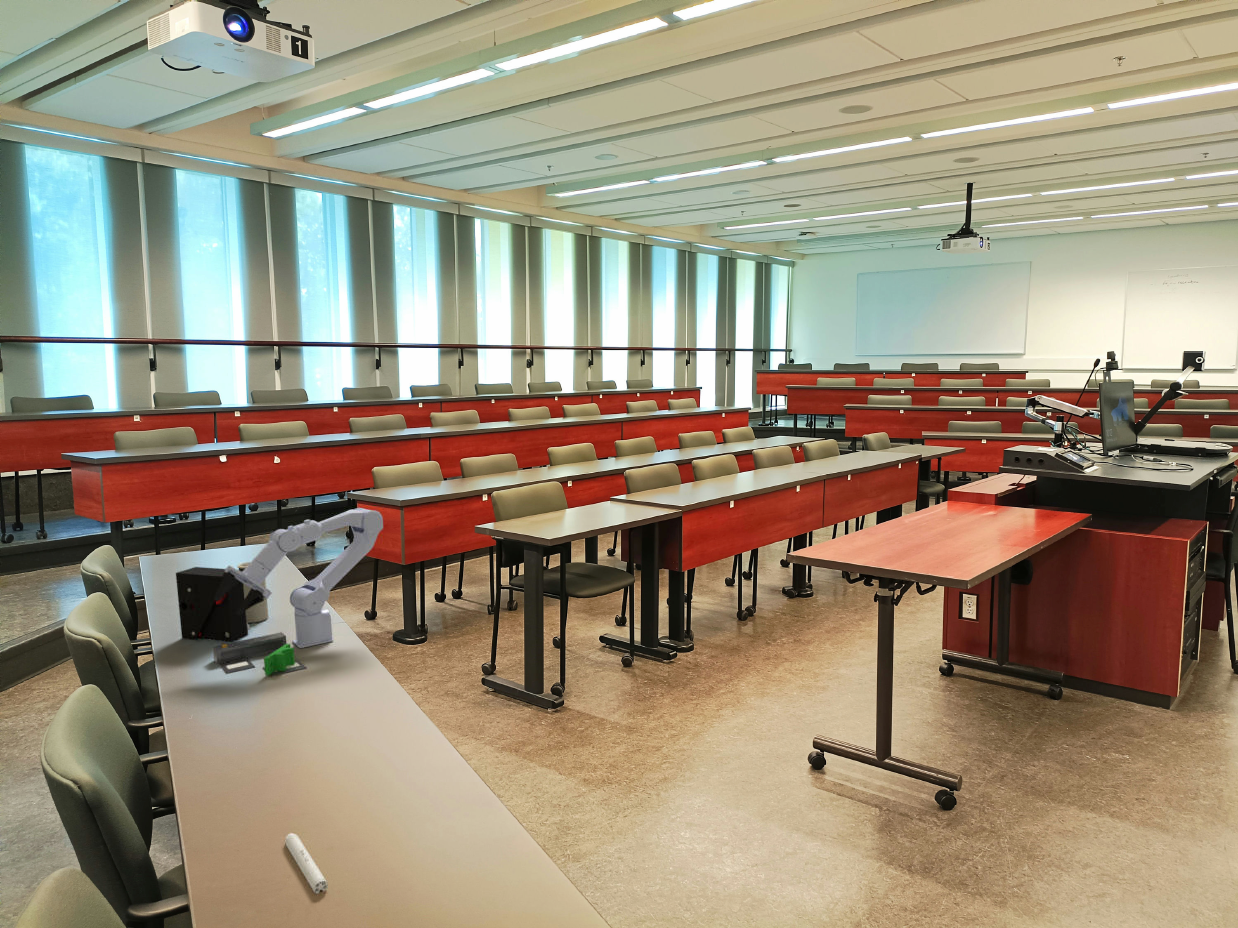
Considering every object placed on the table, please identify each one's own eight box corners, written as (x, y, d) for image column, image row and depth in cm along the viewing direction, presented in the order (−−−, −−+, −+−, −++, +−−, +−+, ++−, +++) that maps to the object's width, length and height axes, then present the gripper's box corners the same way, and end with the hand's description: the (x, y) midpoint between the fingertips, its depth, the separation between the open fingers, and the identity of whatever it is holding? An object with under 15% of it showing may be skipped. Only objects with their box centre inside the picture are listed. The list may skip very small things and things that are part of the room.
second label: (297, 659, 225) (297, 658, 225) (306, 668, 219) (306, 666, 219) (262, 667, 220) (262, 666, 220) (270, 676, 214) (270, 675, 214)
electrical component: (253, 633, 250) (247, 568, 248) (227, 644, 241) (221, 576, 238) (207, 628, 256) (201, 565, 253) (180, 639, 246) (173, 573, 244)
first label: (247, 659, 227) (247, 658, 227) (255, 667, 221) (254, 666, 221) (220, 665, 223) (220, 664, 223) (226, 673, 217) (226, 672, 217)
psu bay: (282, 645, 238) (281, 630, 237) (287, 649, 234) (286, 634, 233) (214, 660, 227) (212, 644, 226) (217, 664, 223) (216, 649, 223)
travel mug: (235, 622, 262) (230, 566, 260) (255, 614, 269) (250, 560, 267) (254, 624, 259) (250, 567, 257) (274, 617, 266) (269, 561, 264)
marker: (282, 842, 138) (281, 829, 138) (295, 838, 139) (294, 825, 139) (314, 896, 124) (313, 881, 123) (328, 891, 125) (327, 876, 125)
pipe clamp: (278, 675, 214) (277, 658, 213) (265, 675, 214) (263, 658, 213) (300, 659, 225) (299, 643, 224) (287, 659, 225) (286, 643, 224)
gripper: (236, 547, 227) (200, 587, 221) (277, 572, 223) (241, 614, 217) (245, 558, 233) (210, 597, 227) (285, 582, 229) (251, 623, 223)
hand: (226, 606), depth 222 cm, fingers open, 7 cm apart
